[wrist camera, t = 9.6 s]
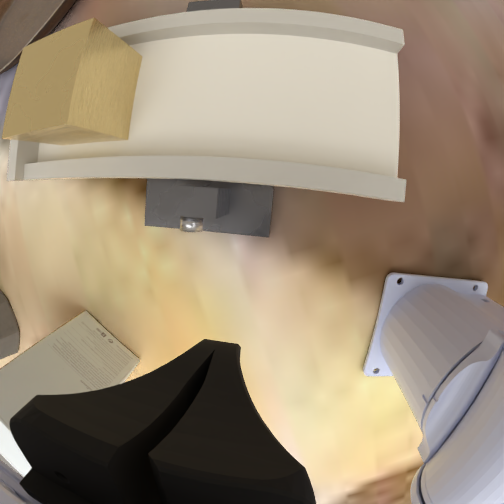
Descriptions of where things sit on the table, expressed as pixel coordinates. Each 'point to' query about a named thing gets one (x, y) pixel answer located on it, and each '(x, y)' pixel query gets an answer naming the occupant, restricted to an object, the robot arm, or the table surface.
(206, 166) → the beam
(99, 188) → the table surface
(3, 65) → the plant saucer
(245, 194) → the pivot stand
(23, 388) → the small box
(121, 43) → the brass block
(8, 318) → the coffeepot
